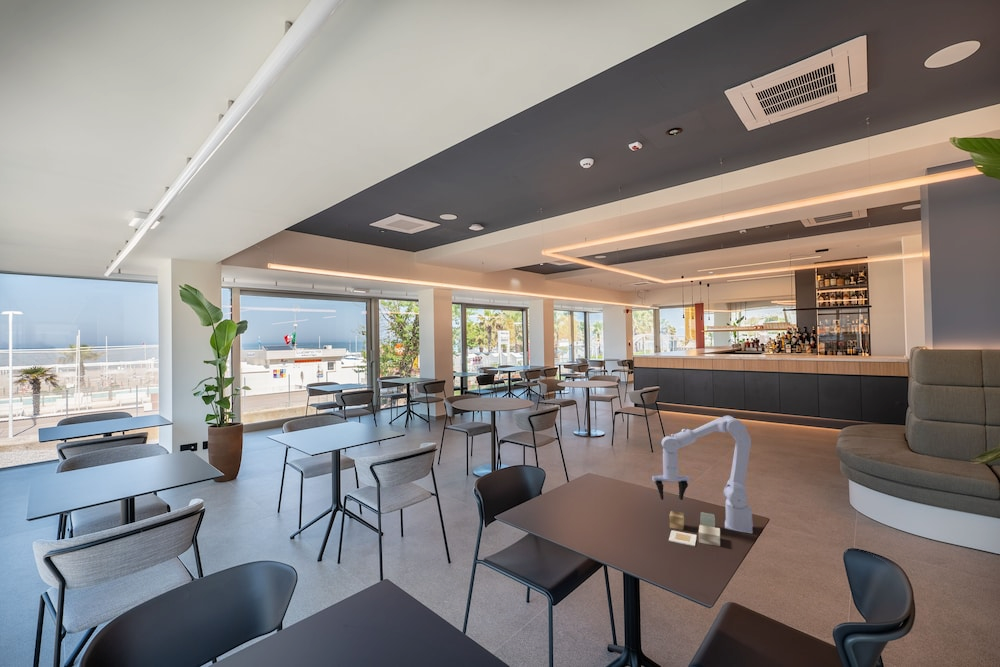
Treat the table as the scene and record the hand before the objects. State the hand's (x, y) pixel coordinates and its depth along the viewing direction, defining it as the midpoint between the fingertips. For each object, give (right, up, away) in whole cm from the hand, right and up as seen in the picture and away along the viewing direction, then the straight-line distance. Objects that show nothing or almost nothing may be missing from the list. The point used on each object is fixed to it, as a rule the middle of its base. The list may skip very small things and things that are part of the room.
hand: (671, 499), depth 171 cm
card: (-2, -9, -14) cm, 17 cm away
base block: (+8, -9, -16) cm, 20 cm away
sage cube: (+12, -9, -6) cm, 16 cm away
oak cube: (+1, -10, -4) cm, 10 cm away
